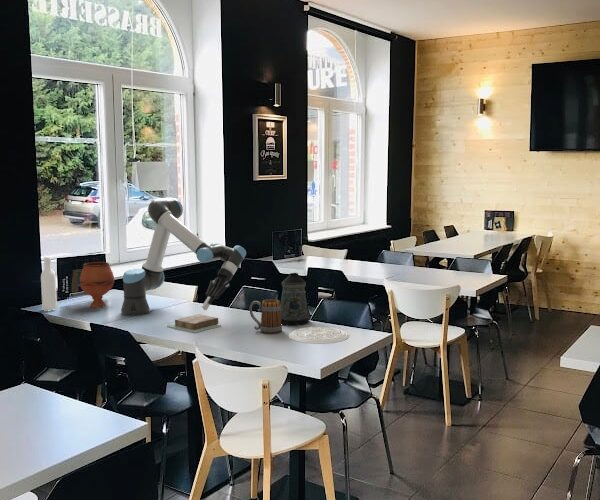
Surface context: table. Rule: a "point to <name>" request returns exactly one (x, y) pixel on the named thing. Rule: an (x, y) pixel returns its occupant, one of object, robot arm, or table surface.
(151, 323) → the table surface
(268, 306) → the mug
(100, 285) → the goblet
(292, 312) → the beer stein
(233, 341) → the table surface
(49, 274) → the bottle
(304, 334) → the ceiling medallion
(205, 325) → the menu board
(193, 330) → the mat
